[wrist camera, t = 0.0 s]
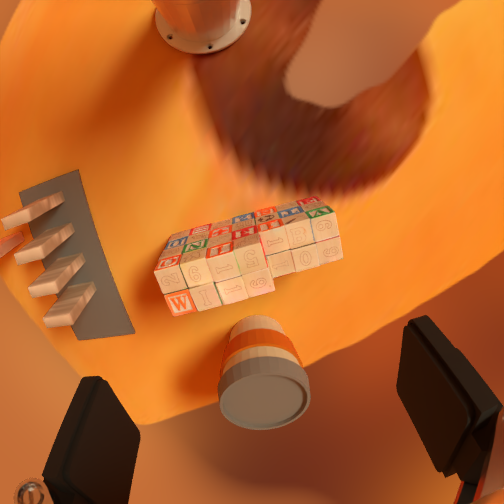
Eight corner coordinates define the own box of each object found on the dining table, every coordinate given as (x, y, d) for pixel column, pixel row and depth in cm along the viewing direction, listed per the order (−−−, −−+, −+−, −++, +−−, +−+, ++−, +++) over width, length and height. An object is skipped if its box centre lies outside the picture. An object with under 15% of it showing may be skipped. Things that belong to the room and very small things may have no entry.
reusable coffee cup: (299, 306, 51) (321, 369, 37) (288, 364, 56) (303, 429, 42) (220, 304, 50) (217, 369, 36) (218, 363, 55) (217, 430, 41)
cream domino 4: (68, 285, 47) (42, 318, 38) (93, 281, 47) (68, 314, 38) (72, 294, 48) (47, 328, 38) (96, 289, 48) (73, 324, 38)
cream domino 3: (57, 258, 45) (27, 287, 36) (82, 252, 45) (53, 282, 36) (61, 267, 46) (32, 298, 37) (85, 261, 46) (58, 292, 36)
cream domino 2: (47, 229, 43) (13, 254, 34) (71, 222, 43) (39, 246, 34) (50, 238, 44) (17, 265, 35) (74, 232, 44) (43, 258, 35)
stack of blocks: (316, 193, 45) (345, 219, 33) (324, 234, 47) (352, 270, 36) (170, 234, 46) (151, 272, 34) (184, 272, 48) (172, 318, 37)
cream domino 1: (37, 199, 41) (1, 219, 32) (62, 190, 41) (26, 209, 32) (40, 209, 42) (5, 230, 33) (65, 200, 42) (30, 221, 33)
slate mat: (20, 192, 41) (18, 192, 41) (78, 169, 41) (77, 170, 40) (79, 339, 52) (78, 340, 51) (135, 332, 51) (134, 333, 51)
